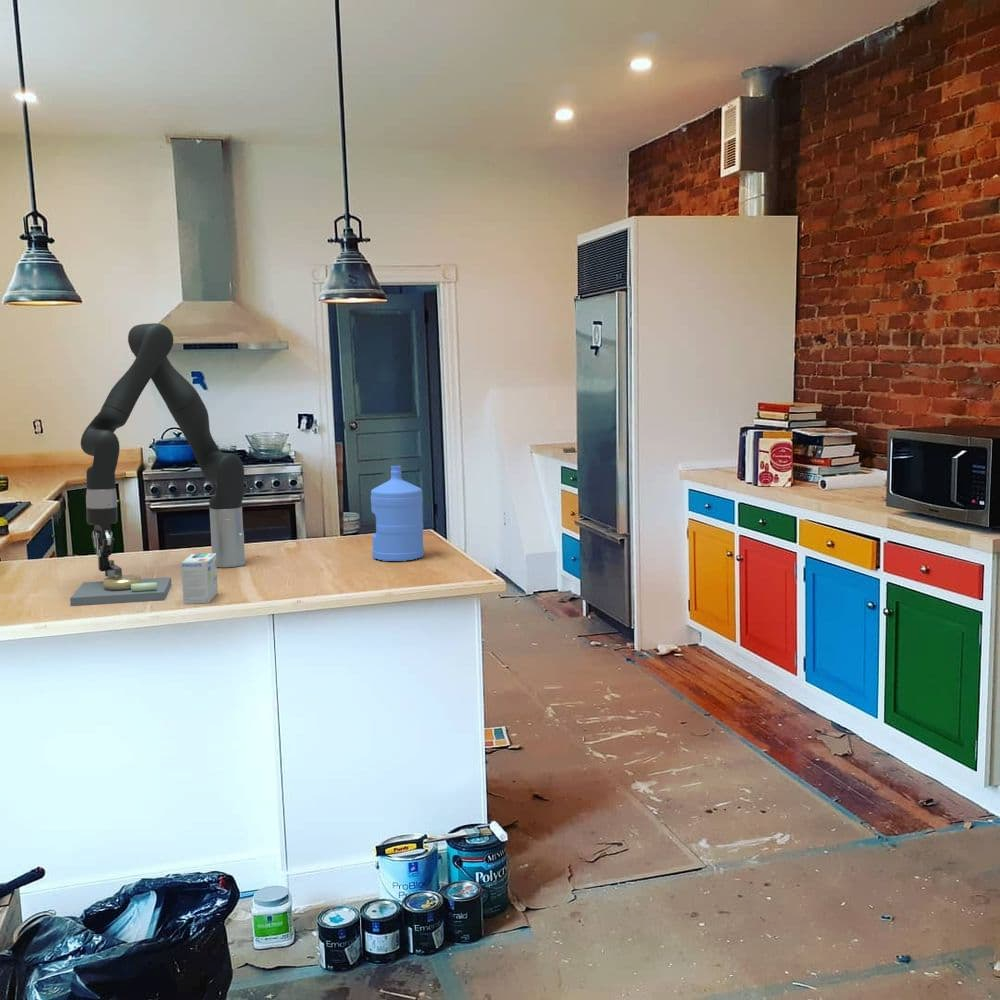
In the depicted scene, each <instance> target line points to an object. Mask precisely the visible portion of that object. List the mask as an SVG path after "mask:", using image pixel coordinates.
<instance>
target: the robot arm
mask: <svg viewBox="0 0 1000 1000" xmlns="http://www.w3.org/2000/svg"><path fill="white" fill-rule="evenodd" d="M127 343H128V346H129V348H130V351H131V352H132V354H133V355H134V356H135V359H134V360H133V363H132V364H131V366H130V367H129V368H128V369H127V371H126V372H124V374H123V375H122V376H121V378H119V380H118V381H117V382H115V384H114V385H113V387H112V388H111V390H110V391H109V393H108V394H107V397H106V399H105V400H104V403H103V404H102V405H101V409H100V411H99V412H98V413H97V414H96V416H95V417H93V419H92V420H91V421H90V423H89V424H88V425H87V427H86V428H85V430H83V433H82V435H81V439H80V448H81V450H82V451H83V452H84V454H87V455H88V456H91V457H93V459H92V460H93V461H92V465H91V466H90V467H88V468H87V469H86V475H85V477H86V479H85V480H86V492H85V504H86V506H85V507H86V509H85V510H86V511H85V512H86V523H87V524H88V525H90V526H93V527H94V528H93V530H92V533H91V539H92V544H93V549H94V553H95V554H96V556H97V558H98V559H97V560H98V562H97V563H98V571H100V572H105V571H108V570H109V560H110V559H109V557H110V556H111V555H112V554H113V550H114V549H113V548H114V544H115V538H114V537H113V531H112V530H111V525H115V524H116V523H118V522H119V521H118V497H117V488H116V470H117V465H118V461H119V456H120V450H121V449H120V448H121V447H120V446H121V445H120V441H119V438H118V436H117V435H116V433H115V432H116V431H117V429H119V428H122V427H123V426H125V424H126V423H127V421H128V419H129V418H130V416H131V414H132V412H133V410H134V408H135V406H136V404H137V402H138V400H139V398H140V396H141V395H142V392H143V391H144V389H145V388H146V387H147V385H148V383H149V382H150V380H151V381H152V383H153V384H154V385H155V388H156V389H157V391H158V393H159V395H160V396H161V398H162V399H163V401H164V403H165V405H166V406H167V409H168V411H169V412H170V414H171V416H172V418H173V420H174V421H175V423H176V424H177V425H178V427H179V429H180V430H181V431H180V432H181V433H182V434H183V436H184V438H185V440H186V441H187V443H188V445H189V446H190V448H191V450H192V452H193V455H194V457H195V460H196V462H197V464H198V466H199V468H200V471H201V474H203V476H204V478H206V480H207V481H209V482H211V483H212V484H216V493H215V495H214V496H212V497H210V498H209V501H208V505H209V507H208V508H209V522H210V523H209V524H210V542H211V553H216V563H217V568H233V567H235V568H236V567H241V566H242V567H243V566H245V564H246V557H245V556H246V554H245V535H244V533H245V531H244V522H243V521H244V520H243V519H244V518H243V500H244V497H245V467H244V464H243V460H242V458H240V456H238V455H237V454H235V453H229V452H222V451H221V450H220V448H219V446H218V445H217V444H216V442H215V440H214V439H213V436H212V434H211V430H210V419H209V418H210V417H209V413H208V410H207V407H206V405H205V403H204V402H203V399H202V398H201V396H200V394H199V392H198V391H197V390H196V388H195V387H194V386H193V385H192V384H191V383H190V382H189V381H188V380H187V379H186V378H185V377H184V376H183V375H182V374H181V373H180V372H179V371H178V370H177V369H176V368H175V367H174V366H173V365H172V363H171V361H170V360H169V359H168V355H169V354H170V352H171V350H172V348H173V346H174V335H173V333H172V330H171V329H169V327H168V326H167V325H165V324H162V323H158V322H156V323H155V322H154V323H153V322H152V323H151V322H150V323H143V324H142V323H141V324H136V325H134V326H133V327H132V328H130V330H129V331H128V335H127Z"/></svg>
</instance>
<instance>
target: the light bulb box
mask: <svg viewBox="0 0 1000 1000" xmlns="http://www.w3.org/2000/svg"><path fill="white" fill-rule="evenodd" d="M180 568H181V584H182V600H183V602H182V603H183V605H184V604H185V605H186V604H188V605H189V604H190V605H194V604H197V605H198V604H210V603H211V602H212V600H213V599H214V598H215V597H216V596H217V595H218V594H219V589H218V588H219V585H218V583H219V582H218V567H217V563H216V553H212V552H211V553H190V554H189V555H188V556H187V557H186V558H185V559H184V560H183V561H181V562H180Z"/></svg>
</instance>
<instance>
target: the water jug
mask: <svg viewBox="0 0 1000 1000" xmlns="http://www.w3.org/2000/svg"><path fill="white" fill-rule="evenodd" d="M423 500H424V499H423V490H422V488H421V487H419V486H417V485H414V484H413V483H410V482H409V481H406V480H404V479H403V478H402V465H390V479H389V480H388V481H386V482H384V483H382V484H380V485H378V486H376V487H374V488H373V489H371V491H370V506H371V513H372V514H374V515H375V529H376V530H375V531H376V532H375V533H372V539H371V540H372V549H371V550H372V552H371V553H372V558H373V559H374V560H376V559H378V560H377V561H379V560H382V561H381V562H386V561H404V562H406V561H405V560H412V561H414V560H413V559H416V560H418V559H417V558H419V559H421V558H422V557H424V554H425V549H424V519H423V518H424V517H423ZM420 557H421V558H420Z"/></svg>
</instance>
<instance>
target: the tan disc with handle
mask: <svg viewBox="0 0 1000 1000" xmlns="http://www.w3.org/2000/svg"><path fill="white" fill-rule="evenodd" d="M122 569H123V568H122V567H121V566H119V565H117V564H115V560H113V559H109V570H108V571H104V576H105V577H106V578H104V579H103V582H104V589H107V590H125V589H131V584H136V583H141V579H142V577H141V575H138V574H123V573H122V571H123V570H122Z"/></svg>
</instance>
